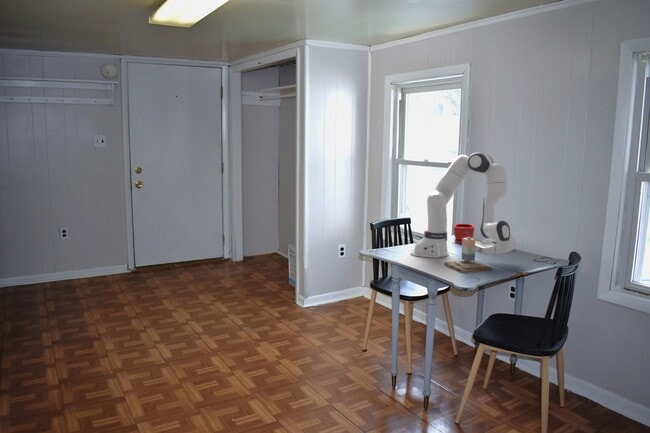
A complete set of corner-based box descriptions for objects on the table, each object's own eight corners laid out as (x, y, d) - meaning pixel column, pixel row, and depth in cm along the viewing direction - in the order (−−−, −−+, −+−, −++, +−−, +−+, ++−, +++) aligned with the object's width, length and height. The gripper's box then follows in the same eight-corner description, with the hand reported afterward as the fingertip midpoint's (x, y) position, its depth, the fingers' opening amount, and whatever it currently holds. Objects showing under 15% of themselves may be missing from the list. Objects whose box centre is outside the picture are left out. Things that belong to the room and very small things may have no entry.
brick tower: (461, 259, 286) (462, 236, 284) (469, 258, 287) (470, 236, 285) (466, 261, 281) (467, 238, 279) (474, 260, 283) (475, 237, 281)
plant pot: (451, 240, 353) (452, 223, 351) (471, 240, 351) (472, 223, 349) (454, 244, 340) (455, 227, 338) (475, 245, 339) (475, 227, 337)
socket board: (444, 264, 291) (444, 260, 290) (471, 262, 296) (471, 257, 296) (462, 273, 274) (462, 268, 273) (491, 269, 280) (491, 265, 279)
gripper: (477, 237, 297) (456, 239, 292) (500, 244, 277) (478, 246, 273) (476, 248, 298) (456, 250, 293) (499, 255, 279) (478, 258, 274)
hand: (467, 248), depth 283 cm, fingers closed on brick tower, 5 cm apart
